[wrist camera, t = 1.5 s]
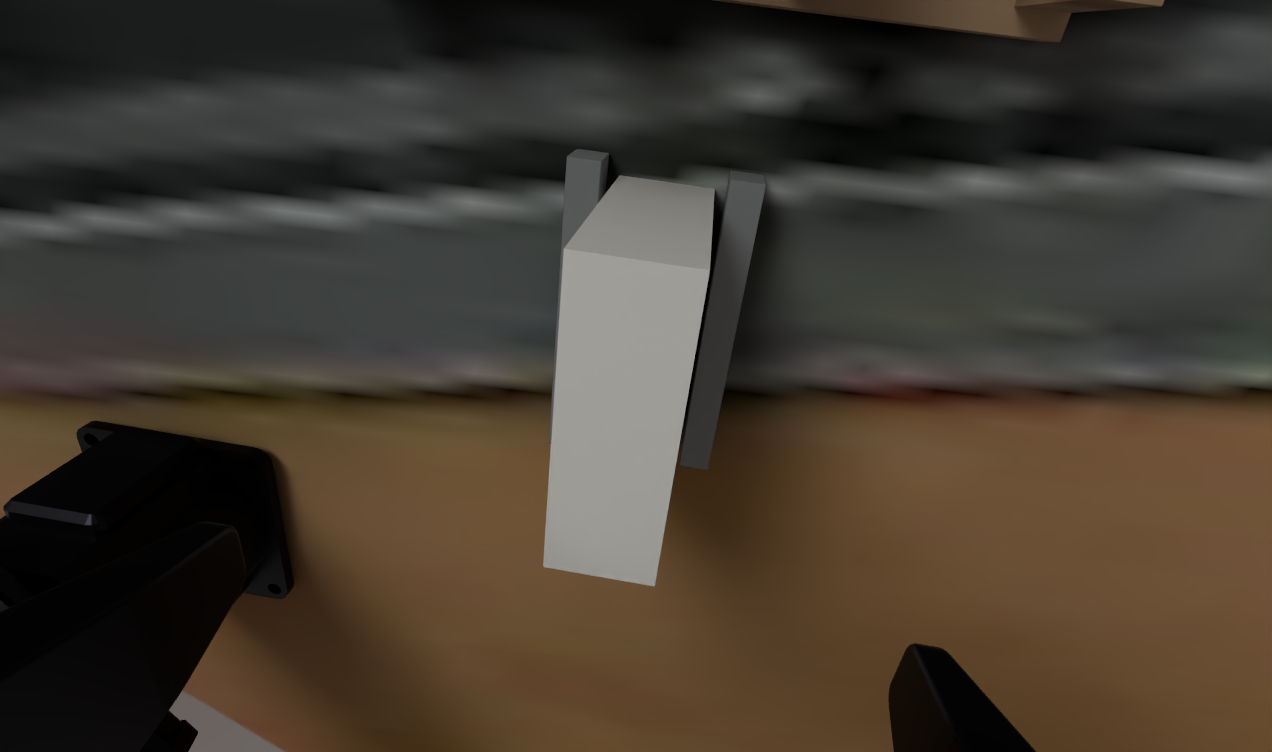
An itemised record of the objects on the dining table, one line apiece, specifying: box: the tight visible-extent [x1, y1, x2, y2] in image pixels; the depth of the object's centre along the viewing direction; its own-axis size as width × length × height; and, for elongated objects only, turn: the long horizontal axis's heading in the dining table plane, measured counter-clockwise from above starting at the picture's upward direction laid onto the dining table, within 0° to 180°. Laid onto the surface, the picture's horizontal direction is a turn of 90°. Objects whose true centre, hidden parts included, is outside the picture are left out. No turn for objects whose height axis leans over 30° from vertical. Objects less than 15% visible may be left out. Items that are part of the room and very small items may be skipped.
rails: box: [549, 149, 766, 470], centre depth 17 cm, size 8×5×1 cm, turn 173°
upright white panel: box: [543, 175, 715, 586], centre depth 15 cm, size 7×2×6 cm, turn 173°
